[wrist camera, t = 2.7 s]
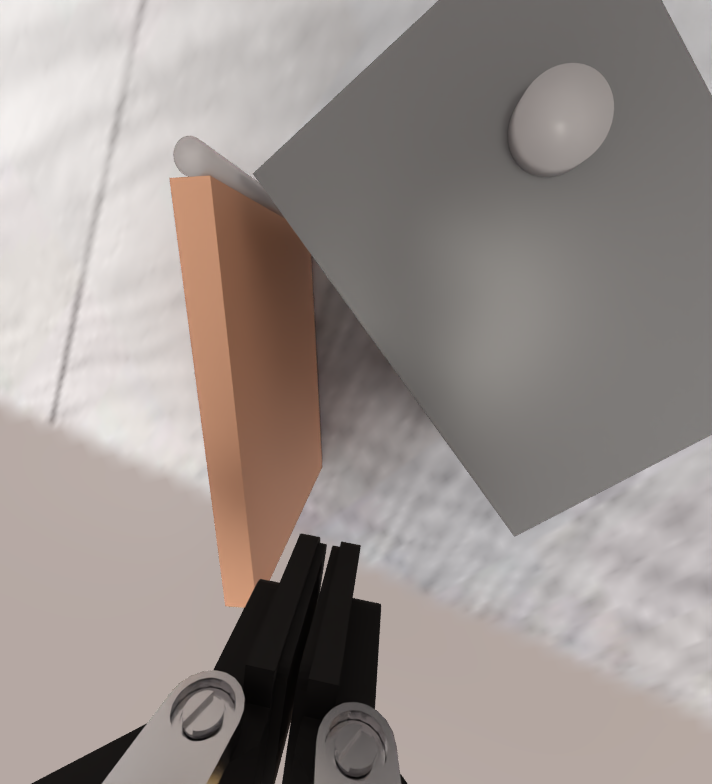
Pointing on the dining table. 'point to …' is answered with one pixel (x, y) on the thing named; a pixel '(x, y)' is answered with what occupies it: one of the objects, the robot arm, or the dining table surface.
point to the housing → (525, 236)
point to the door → (248, 360)
